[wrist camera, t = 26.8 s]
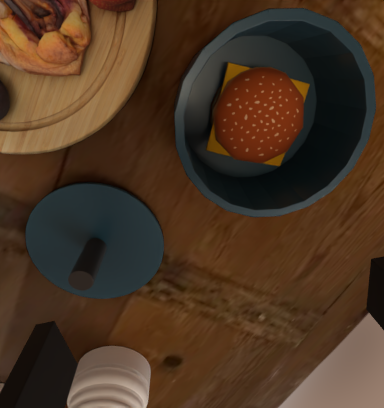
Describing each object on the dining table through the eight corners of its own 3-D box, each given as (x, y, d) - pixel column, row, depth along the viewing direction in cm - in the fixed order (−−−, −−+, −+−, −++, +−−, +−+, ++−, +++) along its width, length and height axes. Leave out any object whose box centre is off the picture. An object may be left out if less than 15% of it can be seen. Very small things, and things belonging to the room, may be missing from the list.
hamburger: (275, 158, 36) (295, 175, 30) (199, 144, 34) (204, 159, 28) (301, 77, 32) (330, 78, 26) (218, 58, 31) (228, 55, 25)
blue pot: (159, 161, 36) (153, 192, 26) (200, 2, 29) (212, -29, 20) (284, 195, 38) (317, 233, 29) (347, 58, 32) (416, 52, 23)
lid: (25, 280, 42) (-8, 325, 34) (34, 163, 35) (-4, 188, 27) (147, 302, 45) (142, 348, 37) (179, 200, 38) (180, 231, 30)
